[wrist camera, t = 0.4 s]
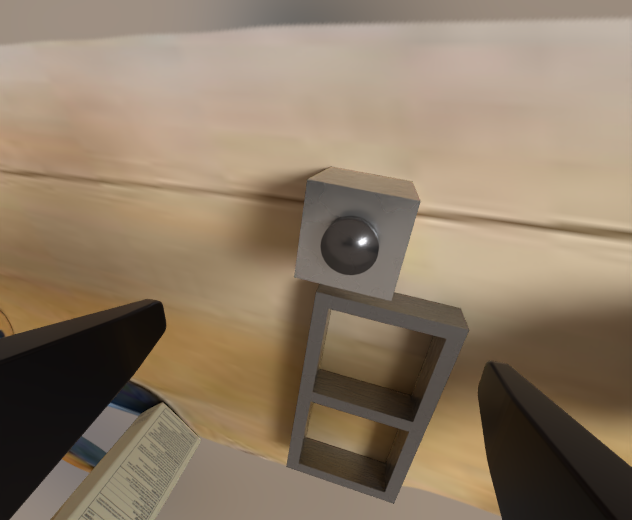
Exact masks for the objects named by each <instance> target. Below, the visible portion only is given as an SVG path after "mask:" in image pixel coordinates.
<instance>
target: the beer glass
mask: <svg viewBox="0 0 632 520" xmlns="http://www.w3.org/2000/svg"><path fill="white" fill-rule="evenodd" d="M11 335H13V331H12V328H11V325H10V323H9V321H8V320H7V318H6V317H5V316H4V314H3V313H2V312H1V311H0V338H3V337H7V336H11Z"/></svg>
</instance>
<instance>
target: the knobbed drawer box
mask: <svg viewBox="0 0 632 520" xmlns="http://www.w3.org/2000/svg"><path fill="white" fill-rule="evenodd" d="M419 205H420V199H419V196H418V194H417V191H416V189H415V186H414V184H413V181H407V180H402V179H396V178H391V177H385V176H380V175H375V174H369V173H364V172H358V171H353V170H347V169H342V168H337V167H330V168H328V169H326V170H324V171H322V172H320V173H318V174H316V175H314V176H312V177H311V178H309V179H307V185H306V192H305V200H304V207H303V215H302V222H301V230H300V237H299V245H298V252H297V260H296V267H295V275H294V277H295V278H299V279H303V280H307V281H311V282H315V283H319V284H323V285H328V286H332V287H336V288H340V289H344V290H348V291H352V292H356V293H360V294H364V295H368V296H373V297H377V298H381V299H385V300H389V301H392V297H393V294H394V290H395V287H396V283H397V280H398V277H399V273H400V270H401V266H402V263H403V259H404V256H405V253H406V249H407V246H408V242H409V239H410V235H411V232H412V229H413V225H414V222H415V218H416V215H417V211H418V208H419Z"/></svg>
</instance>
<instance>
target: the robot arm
mask: <svg viewBox="0 0 632 520" xmlns="http://www.w3.org/2000/svg"><path fill="white" fill-rule="evenodd" d="M165 330H166V319H165V313H164V308H163V304H162V303H161V302H160V301H157V300H151V299H145V300H142V301H138V302H134V303H130V304H127V305H123V306H119V307H115V308H112V309H108V310H104V311H100V312H97V313H93V314H89V315H85V316H82V317H78V318H74V319H71V320H67V321H63V322H59V323H56V324H52V325H48V326H44V327H41V328H37V329H33V330H29V331H26V332H22V333H18V334H14V335H11V336H7V337H3V338H0V520H9V519H10V518H11V517H12V516H13V515H14V514H15V513H16V511H17V510H18V509H19V508H20V507H21V506H22V505H23V503H24V502H25V501H26V500H27V499H28V498H29V496H30V495H31V494H32V493H33V492H34V491H35V489H36V488H37V487H38V486H39V485H40V484H41V482H42V481H43V480H44V479H45V477H47V475H48V474H49V473H50V472H51V471H52V470H53V468H54V467H55V466H56V465H57V464H58V463H59V461H60V460H61V459H62V458H63V457H64V456H65V454H66V453H67V452H68V451H69V450H70V449H71V447H72V446H73V445H74V444H75V443H76V442H77V441H78V439H79V438H80V437H81V436H82V435H83V434H84V432H85V431H86V430H87V429H88V428H89V426H90V425H91V424H92V423H93V422H94V421H95V419H96V418H97V417H98V416H99V415H100V414H101V413H102V411H103V410H104V409H105V408H106V407H107V406H108V404H109V403H110V402H111V401H112V400H113V399H114V397H115V396H116V395H117V394H118V393H119V392H120V390H121V389H122V388H123V387H124V386H125V385H126V383H127V382H128V381H129V380H130V379H131V377H132V376H133V375H134V374H135V372H136V371H137V370H138V368H139V367H140V366H141V364H142V363H143V361H144V360H145V359H146V357H147V356H148V354H149V353H150V352H151V350H152V349H153V348H154V346H155V345H156V343H157V342H158V341H159V339H160V338H161V336H162V335H163V334H164V332H165ZM478 400H479V407H480V414H481V421H482V428H483V435H484V442H485V449H486V455H487V461H488V466H489V470H490V474H491V478H492V482H493V486H494V490H495V493H496V497H497V501H498V505H499V509H500V513H501V517H502V520H632V467H631V466H630V465H628V464H627V463H626V462H625V461H624V460H622V459H621V458H620V457H619V456H618V455H616V454H615V453H614V452H613V451H612V450H610V449H609V448H608V447H607V446H606V445H604V444H603V443H602V442H601V441H600V440H598V439H597V438H596V437H595V436H594V435H592V434H591V433H590V432H589V431H588V430H586V429H585V428H584V427H583V426H582V425H580V424H579V423H578V422H577V421H576V420H574V419H573V418H572V417H571V416H570V415H568V414H567V413H566V412H565V411H564V410H562V409H561V408H560V407H559V406H558V405H556V404H555V403H554V402H553V401H552V400H550V399H549V398H548V397H547V396H546V395H544V394H543V393H542V392H541V391H540V390H538V389H537V388H536V387H535V386H534V385H532V384H531V383H530V382H529V381H528V380H526V379H525V378H524V377H523V376H522V375H520V374H519V373H518V372H517V371H516V370H514V369H513V368H512V367H511V366H510V365H508V364H506V363H501V362H496V361H488V362H487V363H486V365H485V367H484V371H483V374H482V377H481V380H480V383H479V387H478Z"/></svg>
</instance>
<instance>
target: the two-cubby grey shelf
mask: <svg viewBox="0 0 632 520" xmlns="http://www.w3.org/2000/svg"><path fill="white" fill-rule="evenodd" d="M331 309H332V310H336V311H340V312H344V313H347V314H351V315H355V316H359V317H363V318H367V319H371V320H375V321H379V322H383V323H386V324H390V325H394V326H398V327H402V328H406V329H410V330H414V331H418V332H422V333H426V334H429V335H433V336H434V337H433V339H432V342H431V345H430V347H429V350H428V353H427V355H426V358H425V360H424V363H423V366H422V368H421V371H420V374H419V376H418V379H417V382H416V384H415V387H414V389H413V392H412V395H408V394H404V393H401V392H397V391H394V390H390V389H387V388H384V387H380V386H377V385H373V384H370V383H366V382H363V381H359V380H356V379H352V378H349V377H345V376H342V375H338V374H335V373H331V372H328V371H324V370H321V369H320V364H321V359H322V354H323V349H324V344H325V339H326V334H327V329H328V324H329V319H330V314H331ZM468 332H469V328H468V326H467V323H466V320H465V318H464V315H463V313H462V310H461V308H457V307H453V306H448V305H444V304H440V303H436V302H432V301H427V300H423V299H419V298H415V297H411V296H407V295H402V294H398V293H394V294H393V297H392V301H389V300H385V299H381V298H377V297H373V296H368V295H364V294H360V293H356V292H352V291H348V290H344V289H340V288H336V287H332V286H328V285H323V284H320V285H319V287H318V289H317V291H316V296H315V301H314V307H313V313H312V319H311V325H310V331H309V337H308V342H307V348H306V354H305V360H304V366H303V372H302V378H301V383H300V389H299V395H298V401H297V407H296V413H295V419H294V425H293V430H292V436H291V442H290V448H289V454H288V460H287V466H286V467H288V468H291V469H294V470H297V471H300V472H303V473H306V474H309V475H312V476H315V477H318V478H321V479H324V480H326V481H329V482H332V483H335V484H338V485H341V486H344V487H347V488H350V489H353V490H355V491H359V492H361V493H364V494H367V495H370V496H373V497H376V498H379V499H382V500H385V501H388V502H391V503H393V504H394V502H395V500H396V498H397V495H398V493H399V491H400V488H401V486H402V484H403V482H404V479H405V477H406V475H407V472H408V470H409V468H410V465H411V463H412V461H413V458H414V456H415V454H416V452H417V449H418V447H419V445H420V442H421V440H422V438H423V435H424V433H425V431H426V428H427V426H428V424H429V422H430V419H431V417H432V415H433V412H434V410H435V408H436V405H437V403H438V401H439V399H440V396H441V394H442V392H443V389H444V387H445V385H446V382H447V380H448V378H449V375H450V373H451V371H452V369H453V366H454V364H455V362H456V359H457V357H458V355H459V352H460V350H461V348H462V345H463V343H464V341H465V339H466V336H467V334H468ZM313 402H314V403H317V404H320V405H324V406H327V407H330V408H333V409H337V410H340V411H343V412H346V413H350V414H353V415H356V416H359V417H363V418H366V419H369V420H373V421H376V422H379V423H382V424H386V425H389V426H392V427H395V428H399V429H398V432H397V434H396V437H395V440H394V442H393V445H392V448H391V450H390V453H389V455H388V458H387V461H386V463H383V462H380V461H377V460H374V459H371V458H367V457H364V456H361V455H358V454H355V453H352V452H349V451H346V450H343V449H340V448H337V447H334V446H331V445H327V444H324V443H321V442H318V441H315V440H312V439H309V438H306V434H307V429H308V424H309V419H310V414H311V409H312V404H313Z"/></svg>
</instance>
